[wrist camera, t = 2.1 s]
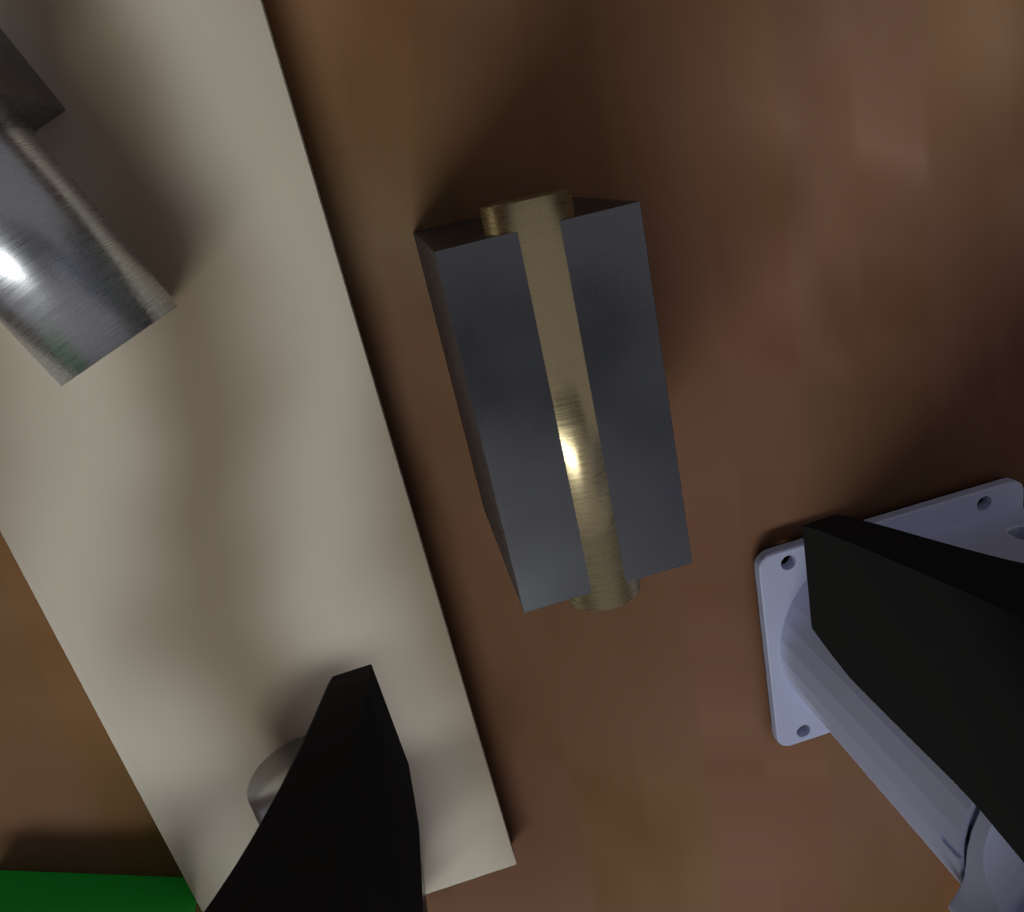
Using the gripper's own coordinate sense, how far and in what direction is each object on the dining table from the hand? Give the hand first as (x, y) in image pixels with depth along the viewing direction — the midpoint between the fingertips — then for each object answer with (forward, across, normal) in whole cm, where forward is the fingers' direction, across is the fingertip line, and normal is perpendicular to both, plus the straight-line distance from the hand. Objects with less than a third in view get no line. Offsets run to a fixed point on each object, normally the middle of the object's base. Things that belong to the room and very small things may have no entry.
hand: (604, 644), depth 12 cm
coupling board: (+10, +8, +1) cm, 13 cm away
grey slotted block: (+11, -1, -2) cm, 11 cm away
